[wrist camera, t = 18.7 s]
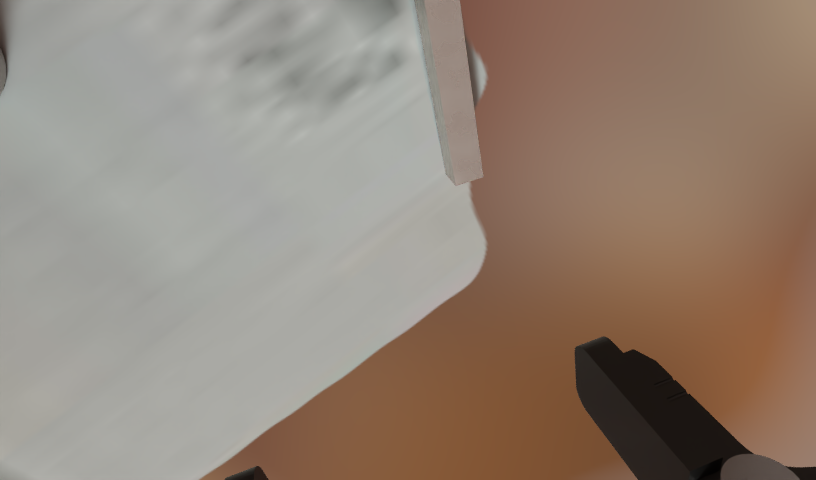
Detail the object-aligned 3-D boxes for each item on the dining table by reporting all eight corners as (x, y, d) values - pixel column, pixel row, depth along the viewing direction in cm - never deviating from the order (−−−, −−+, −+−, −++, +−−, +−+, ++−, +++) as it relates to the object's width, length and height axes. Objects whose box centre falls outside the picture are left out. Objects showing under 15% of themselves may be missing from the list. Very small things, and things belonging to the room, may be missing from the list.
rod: (437, 173, 52) (451, 191, 48) (391, -70, 40) (405, -72, 36) (475, 161, 53) (492, 177, 49) (441, -83, 40) (460, -86, 37)
